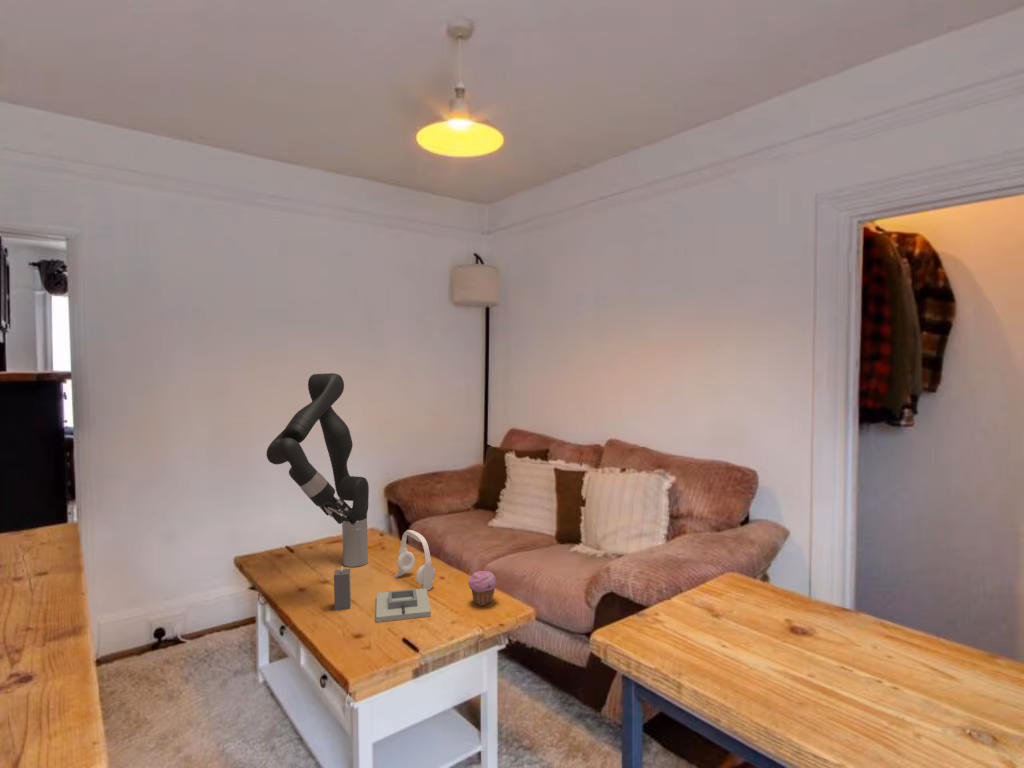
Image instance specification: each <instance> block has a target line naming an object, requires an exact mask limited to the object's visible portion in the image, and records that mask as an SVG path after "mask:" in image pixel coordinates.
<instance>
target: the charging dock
mask: <svg viewBox="0 0 1024 768" xmlns="http://www.w3.org/2000/svg"><path fill="white" fill-rule="evenodd" d="M375 604H376V611H375V616H376V617H375V621H376V623H383V622H391V621H401V620H408V619H418V618H427V617H431V615H432V610H431V605H430V600H429V596H428V591H427V589H426V588H424V587H422V588H410V589H400V590H390V591H384V592H376V603H375Z"/></svg>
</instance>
